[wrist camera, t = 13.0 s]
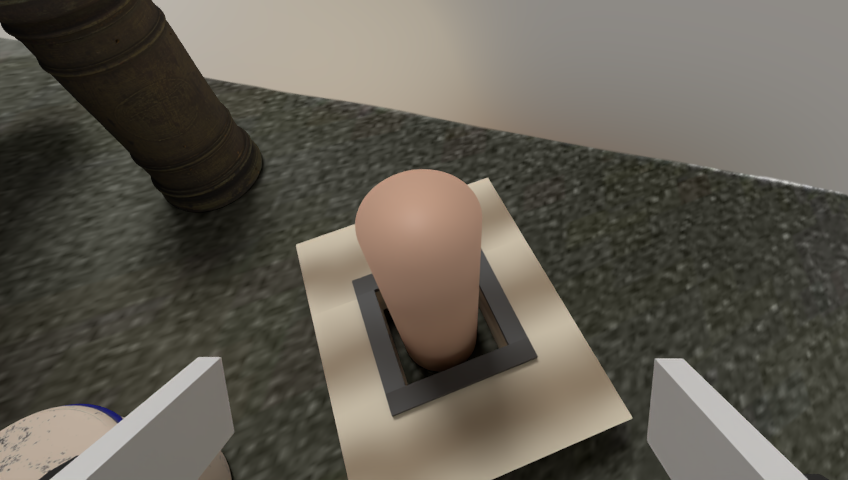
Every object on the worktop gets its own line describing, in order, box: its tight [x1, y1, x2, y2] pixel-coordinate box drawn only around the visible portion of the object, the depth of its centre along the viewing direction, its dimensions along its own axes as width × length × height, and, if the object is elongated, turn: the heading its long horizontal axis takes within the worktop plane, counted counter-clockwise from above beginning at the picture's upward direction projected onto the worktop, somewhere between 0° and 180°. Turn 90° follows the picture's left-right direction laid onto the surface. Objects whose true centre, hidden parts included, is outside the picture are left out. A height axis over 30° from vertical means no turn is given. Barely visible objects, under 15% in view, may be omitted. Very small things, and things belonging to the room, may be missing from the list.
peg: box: [355, 169, 482, 372], centre depth 22 cm, size 5×5×14 cm
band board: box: [296, 178, 632, 480], centre depth 26 cm, size 18×15×3 cm
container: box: [0, 0, 262, 212], centre depth 30 cm, size 9×9×18 cm
